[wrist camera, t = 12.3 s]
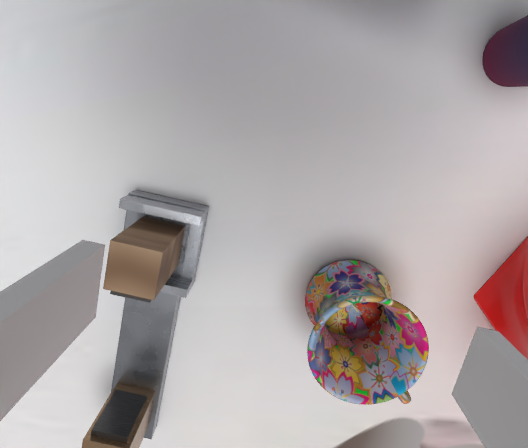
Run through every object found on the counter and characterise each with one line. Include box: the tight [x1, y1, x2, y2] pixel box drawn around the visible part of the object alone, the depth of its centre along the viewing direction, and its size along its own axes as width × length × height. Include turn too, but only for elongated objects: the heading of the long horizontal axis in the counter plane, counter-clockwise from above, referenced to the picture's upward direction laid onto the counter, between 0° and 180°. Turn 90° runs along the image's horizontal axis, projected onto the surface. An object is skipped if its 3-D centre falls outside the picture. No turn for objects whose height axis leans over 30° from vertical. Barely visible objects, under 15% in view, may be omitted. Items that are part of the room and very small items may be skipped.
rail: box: [82, 190, 209, 448], centre depth 39 cm, size 26×7×10 cm, turn 168°
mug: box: [305, 260, 429, 404], centre depth 38 cm, size 12×9×11 cm
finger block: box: [103, 216, 185, 303], centre depth 36 cm, size 5×4×8 cm
